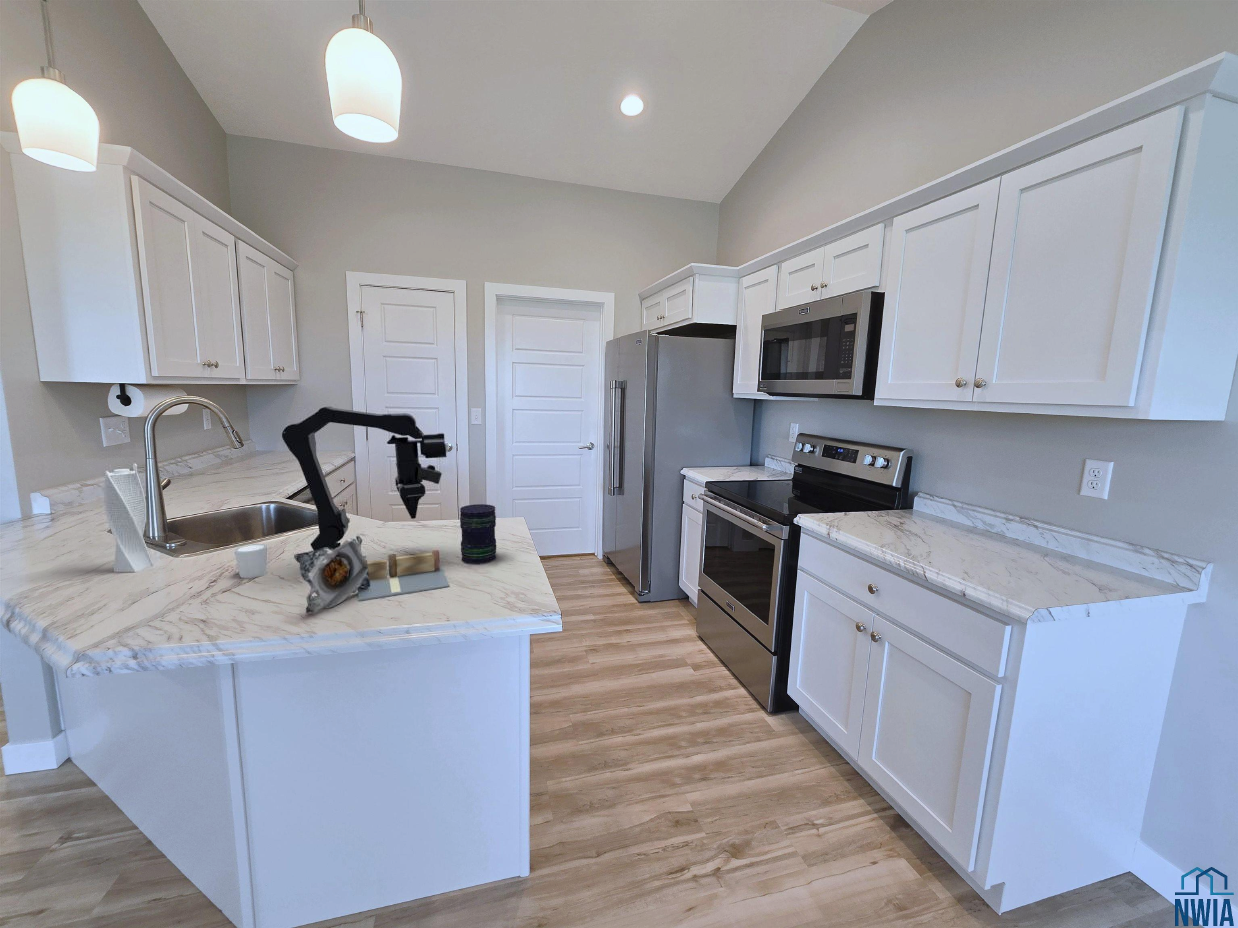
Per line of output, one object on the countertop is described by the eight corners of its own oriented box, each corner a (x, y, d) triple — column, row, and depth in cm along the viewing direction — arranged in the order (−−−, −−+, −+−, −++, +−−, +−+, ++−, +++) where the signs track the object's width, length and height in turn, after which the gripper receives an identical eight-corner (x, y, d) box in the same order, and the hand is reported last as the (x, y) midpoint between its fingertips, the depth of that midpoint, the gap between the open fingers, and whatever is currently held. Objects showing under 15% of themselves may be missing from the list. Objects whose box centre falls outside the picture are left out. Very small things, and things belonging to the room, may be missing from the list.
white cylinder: (275, 571, 132) (273, 546, 131) (247, 580, 125) (244, 553, 124) (259, 567, 134) (257, 542, 133) (230, 576, 128) (228, 549, 127)
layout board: (358, 601, 115) (358, 599, 115) (358, 574, 130) (357, 573, 130) (449, 586, 124) (449, 585, 124) (438, 563, 140) (438, 562, 140)
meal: (357, 585, 122) (351, 534, 120) (371, 588, 121) (365, 535, 119) (300, 612, 108) (293, 555, 106) (315, 615, 107) (308, 557, 105)
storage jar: (475, 567, 138) (474, 514, 136) (453, 559, 144) (452, 508, 141) (503, 557, 146) (503, 507, 143) (482, 550, 151) (481, 502, 149)
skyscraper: (162, 563, 136) (150, 461, 132) (137, 573, 128) (123, 465, 124) (132, 563, 135) (119, 461, 131) (105, 573, 128) (90, 465, 124)
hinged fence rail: (389, 577, 128) (388, 556, 127) (389, 574, 129) (388, 554, 128) (440, 569, 133) (439, 550, 132) (439, 567, 135) (438, 548, 134)
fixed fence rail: (360, 582, 125) (359, 563, 124) (360, 579, 126) (359, 560, 125) (387, 578, 127) (386, 559, 127) (387, 576, 129) (386, 557, 128)
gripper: (443, 461, 133) (447, 518, 136) (433, 453, 150) (437, 504, 152) (397, 465, 128) (402, 524, 131) (392, 456, 145) (397, 508, 147)
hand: (411, 514), depth 140 cm, fingers open, 9 cm apart
